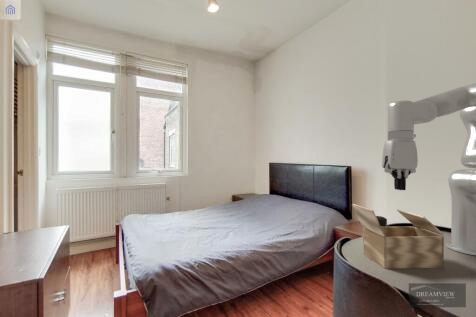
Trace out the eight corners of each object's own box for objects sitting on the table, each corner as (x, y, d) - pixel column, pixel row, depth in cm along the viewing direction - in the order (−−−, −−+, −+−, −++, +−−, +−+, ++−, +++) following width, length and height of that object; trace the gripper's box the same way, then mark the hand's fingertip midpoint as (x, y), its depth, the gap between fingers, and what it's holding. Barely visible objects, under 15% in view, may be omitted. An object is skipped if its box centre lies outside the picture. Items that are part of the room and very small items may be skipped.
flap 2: (414, 225, 89) (414, 224, 89) (442, 235, 78) (443, 234, 78) (396, 210, 89) (397, 209, 89) (423, 217, 77) (424, 216, 77)
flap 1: (353, 203, 88) (352, 204, 88) (373, 210, 76) (372, 211, 76) (363, 225, 88) (362, 226, 88) (384, 235, 76) (383, 236, 76)
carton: (413, 253, 89) (414, 226, 89) (443, 267, 77) (443, 236, 78) (362, 253, 88) (363, 226, 88) (385, 268, 76) (385, 237, 76)
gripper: (412, 138, 87) (411, 188, 87) (373, 137, 86) (372, 188, 86) (429, 136, 80) (429, 191, 80) (387, 135, 79) (386, 191, 79)
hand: (399, 189), depth 83 cm, fingers closed
